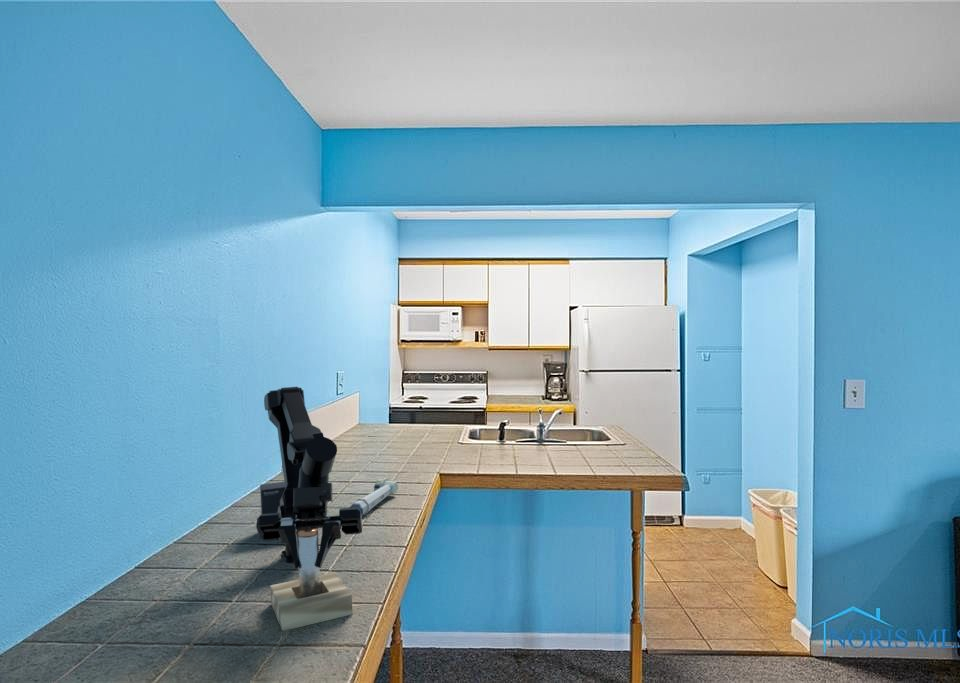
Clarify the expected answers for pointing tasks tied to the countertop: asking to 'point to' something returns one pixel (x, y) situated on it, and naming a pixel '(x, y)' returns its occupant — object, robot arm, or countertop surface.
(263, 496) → the small box
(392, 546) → the countertop surface
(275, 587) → the socket block
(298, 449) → the robot arm
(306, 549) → the copper capped silver cylinder
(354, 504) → the white blue cylinder
